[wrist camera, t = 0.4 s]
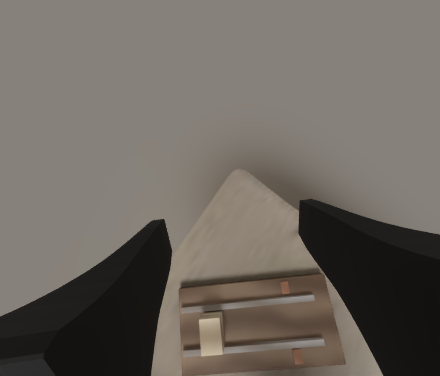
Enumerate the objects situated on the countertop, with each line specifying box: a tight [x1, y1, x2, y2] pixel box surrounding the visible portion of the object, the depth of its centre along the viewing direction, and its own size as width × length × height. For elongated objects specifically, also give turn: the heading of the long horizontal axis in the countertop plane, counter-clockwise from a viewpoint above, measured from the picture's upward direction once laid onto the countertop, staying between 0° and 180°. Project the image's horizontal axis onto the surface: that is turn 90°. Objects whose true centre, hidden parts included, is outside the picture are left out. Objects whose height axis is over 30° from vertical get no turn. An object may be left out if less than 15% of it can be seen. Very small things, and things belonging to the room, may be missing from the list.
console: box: [179, 273, 346, 376], centre depth 32 cm, size 12×24×2 cm, turn 96°
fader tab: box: [199, 311, 225, 356], centre depth 30 cm, size 4×3×4 cm
